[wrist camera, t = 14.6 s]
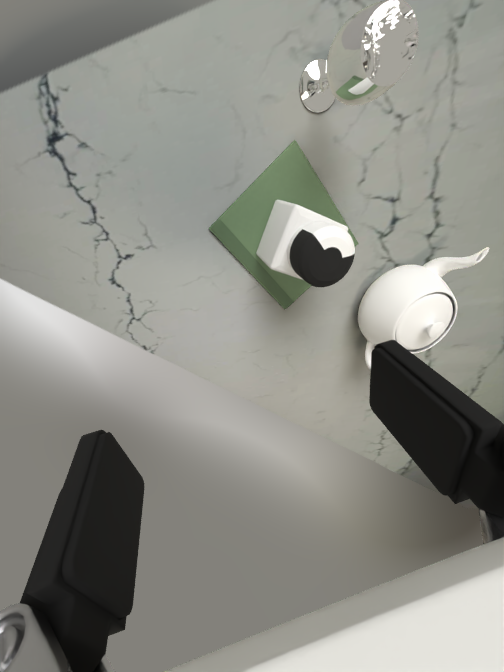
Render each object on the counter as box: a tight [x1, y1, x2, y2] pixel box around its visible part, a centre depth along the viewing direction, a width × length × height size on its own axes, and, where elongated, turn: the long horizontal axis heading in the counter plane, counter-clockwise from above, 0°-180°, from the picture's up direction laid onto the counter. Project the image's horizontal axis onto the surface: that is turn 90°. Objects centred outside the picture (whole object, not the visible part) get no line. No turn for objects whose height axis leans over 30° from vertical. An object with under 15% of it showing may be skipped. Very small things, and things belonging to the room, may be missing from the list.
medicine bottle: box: [256, 200, 355, 287], centre depth 33 cm, size 7×7×12 cm
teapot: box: [358, 247, 489, 370], centre depth 42 cm, size 22×14×11 cm, turn 150°
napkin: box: [209, 140, 358, 309], centre depth 38 cm, size 16×14×1 cm
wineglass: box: [300, 0, 419, 113], centre depth 26 cm, size 6×6×12 cm
